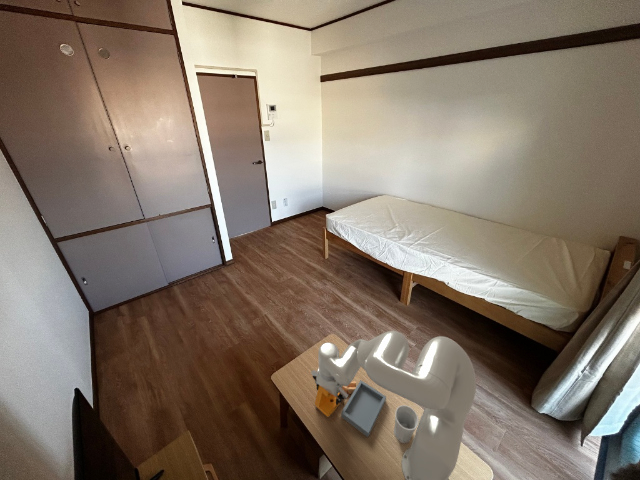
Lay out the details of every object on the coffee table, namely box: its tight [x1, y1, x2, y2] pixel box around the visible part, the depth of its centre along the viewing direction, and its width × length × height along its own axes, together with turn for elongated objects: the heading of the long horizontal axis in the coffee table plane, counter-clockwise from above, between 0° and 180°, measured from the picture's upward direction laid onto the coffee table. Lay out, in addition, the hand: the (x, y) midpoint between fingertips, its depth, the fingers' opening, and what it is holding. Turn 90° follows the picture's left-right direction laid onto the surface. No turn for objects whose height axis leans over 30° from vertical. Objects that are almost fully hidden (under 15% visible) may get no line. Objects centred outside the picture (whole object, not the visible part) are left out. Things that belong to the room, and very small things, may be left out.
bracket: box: [314, 385, 341, 418], centre depth 102 cm, size 11×7×12 cm, turn 138°
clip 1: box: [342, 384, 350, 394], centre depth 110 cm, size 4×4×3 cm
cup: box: [393, 404, 420, 444], centre depth 92 cm, size 8×8×12 cm
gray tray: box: [340, 379, 387, 438], centre depth 102 cm, size 12×16×4 cm
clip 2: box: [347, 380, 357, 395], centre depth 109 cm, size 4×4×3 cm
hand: (328, 394), depth 103 cm, fingers open, 9 cm apart
